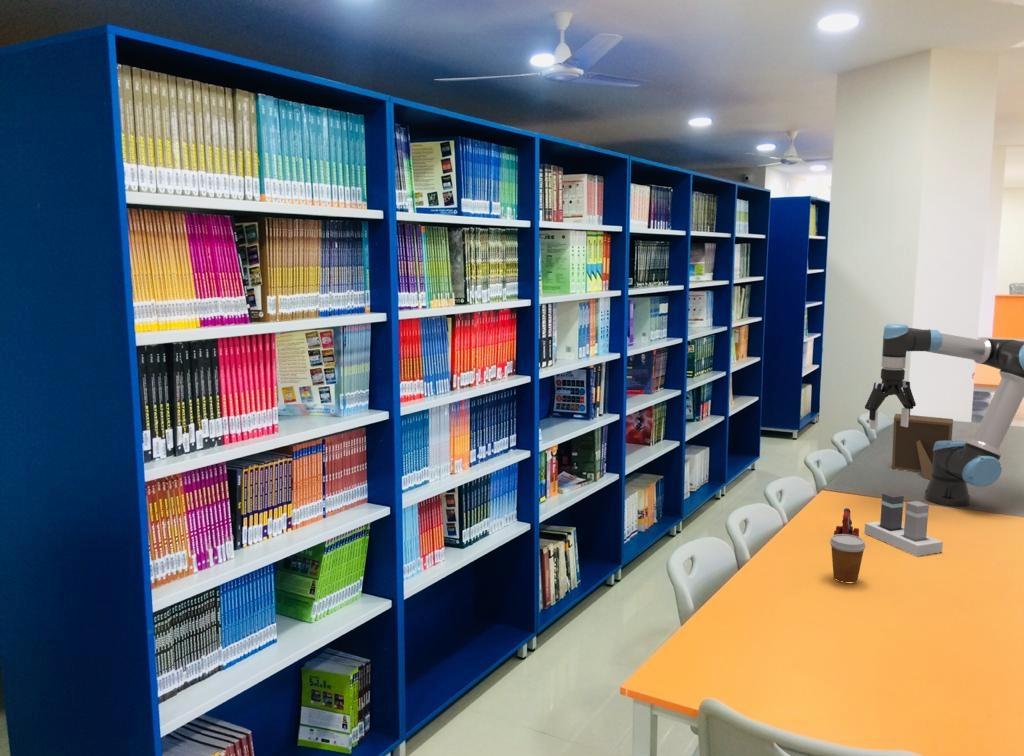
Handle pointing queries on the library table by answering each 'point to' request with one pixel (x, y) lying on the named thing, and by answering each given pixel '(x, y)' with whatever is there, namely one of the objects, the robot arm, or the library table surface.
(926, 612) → the library table surface
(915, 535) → the grey square plug
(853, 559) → the disposable coffee cup
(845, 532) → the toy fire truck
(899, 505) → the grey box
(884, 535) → the white slotted plate
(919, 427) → the photo frame
